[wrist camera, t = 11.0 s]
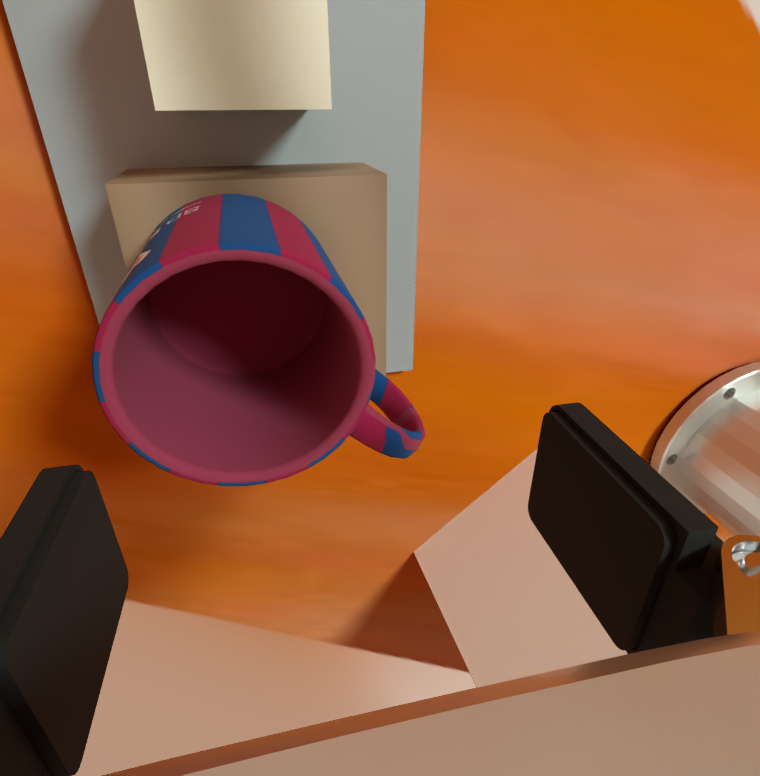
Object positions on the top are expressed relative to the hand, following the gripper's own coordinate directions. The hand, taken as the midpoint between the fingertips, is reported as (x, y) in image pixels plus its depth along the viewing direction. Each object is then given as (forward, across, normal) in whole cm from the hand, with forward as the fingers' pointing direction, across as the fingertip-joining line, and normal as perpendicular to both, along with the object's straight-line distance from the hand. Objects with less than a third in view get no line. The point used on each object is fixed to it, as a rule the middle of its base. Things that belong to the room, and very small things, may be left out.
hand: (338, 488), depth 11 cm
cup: (+10, +1, 0) cm, 10 cm away
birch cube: (+14, +1, -10) cm, 17 cm away
